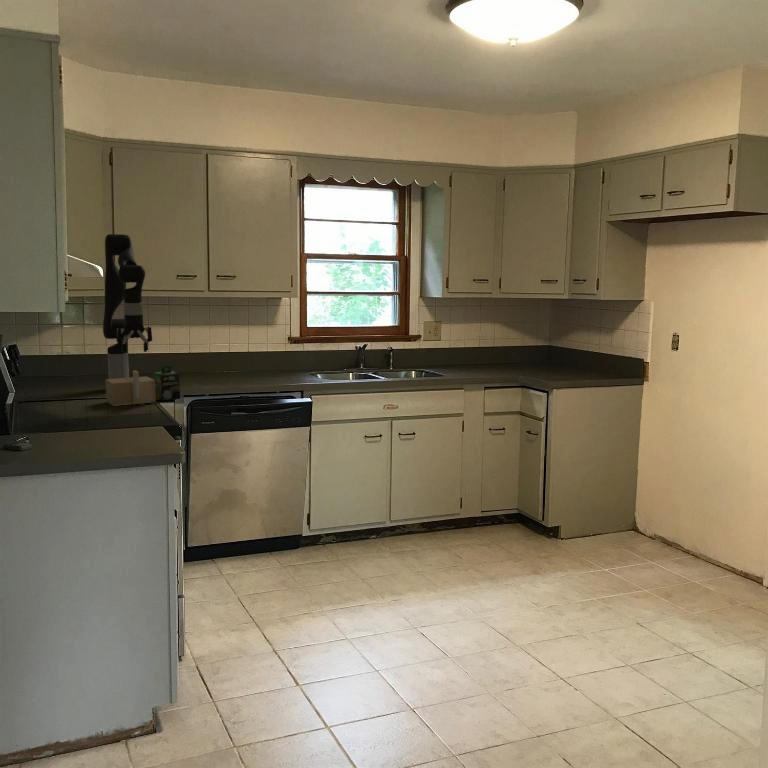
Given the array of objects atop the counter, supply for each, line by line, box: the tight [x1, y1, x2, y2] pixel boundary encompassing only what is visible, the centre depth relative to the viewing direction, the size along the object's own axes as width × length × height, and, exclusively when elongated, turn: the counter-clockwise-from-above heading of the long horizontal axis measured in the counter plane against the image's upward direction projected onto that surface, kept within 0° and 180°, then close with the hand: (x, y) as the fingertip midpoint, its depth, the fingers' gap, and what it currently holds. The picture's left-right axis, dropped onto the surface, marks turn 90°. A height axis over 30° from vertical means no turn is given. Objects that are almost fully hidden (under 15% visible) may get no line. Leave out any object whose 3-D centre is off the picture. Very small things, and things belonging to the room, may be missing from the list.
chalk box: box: [152, 364, 181, 401], centre depth 370 cm, size 9×9×15 cm
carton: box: [105, 376, 157, 404], centre depth 358 cm, size 12×18×10 cm
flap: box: [132, 370, 152, 404], centre depth 351 cm, size 5×8×15 cm, turn 122°
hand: (135, 352), depth 347 cm, fingers open, 8 cm apart
